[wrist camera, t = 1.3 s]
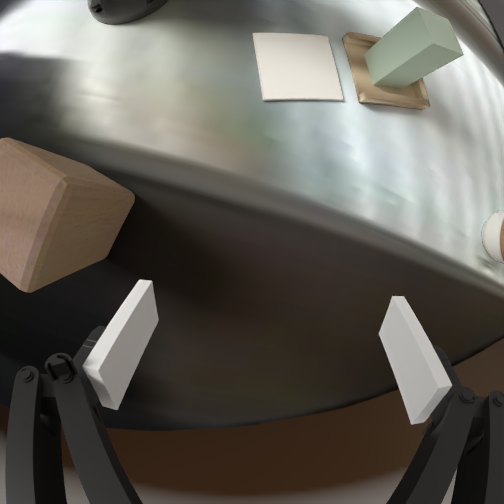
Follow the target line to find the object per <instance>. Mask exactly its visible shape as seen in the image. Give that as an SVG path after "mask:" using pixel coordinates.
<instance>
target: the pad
mask: <svg viewBox="0 0 504 504" xmlns="http://www.w3.org/2000/svg"><path fill="white" fill-rule="evenodd" d="M253 41H254V47H255V53H256V59H257V65H258V71H259V77H260V84H261V90H262V96H263V101H270V100H338V101H342V100H343V96H342V91H341V87H340V82H339V78H338V74H337V70H336V66H335V62H334V58H333V54H332V51H331V47H330V43H329V40H328V36H322V35H310V34H295V33H253Z"/></svg>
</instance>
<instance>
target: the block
mask: <svg viewBox="0 0 504 504" xmlns="http://www.w3.org/2000/svg"><path fill="white" fill-rule="evenodd" d="M134 201H135V195H134V194H133V193H132V192H131V191H130V190H128V189H126V188H125V187H123V186H121V185H120V184H118V183H116V182H114V181H113V180H111V179H109V178H108V177H106V176H104V175H103V174H101V173H99V172H97V171H96V170H94V169H92V168H91V167H89V166H87V165H85V164H82V163H79V162H77V161H74V160H71V159H68V158H65V157H63V156H60V155H57V154H54V153H51V152H49V151H46V150H43V149H40V148H37V147H34V146H31V145H28V144H26V143H23V142H20V141H17V140H14V139H11V138H2V139H0V273H1V274H2V275H4V276H5V277H6V278H7V279H8V280H9V281H10V282H12V283H13V284H14V285H15V286H16V287H18V288H19V289H20V290H22V291H25V292H33V291H35V290H37V289H39V288H41V287H43V286H45V285H47V284H50V283H52V282H54V281H56V280H58V279H60V278H62V277H64V276H67V275H69V274H71V273H73V272H75V271H78V270H80V269H82V268H84V267H86V266H89V265H91V264H93V263H95V262H98V261H100V260H102V259H104V258H105V257H106V256H107V255H108V253H109V251H110V249H111V247H112V245H113V243H114V241H115V239H116V237H117V235H118V233H119V231H120V229H121V227H122V225H123V223H124V221H125V219H126V217H127V215H128V213H129V211H130V209H131V207H132V206H133V204H134Z"/></svg>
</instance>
